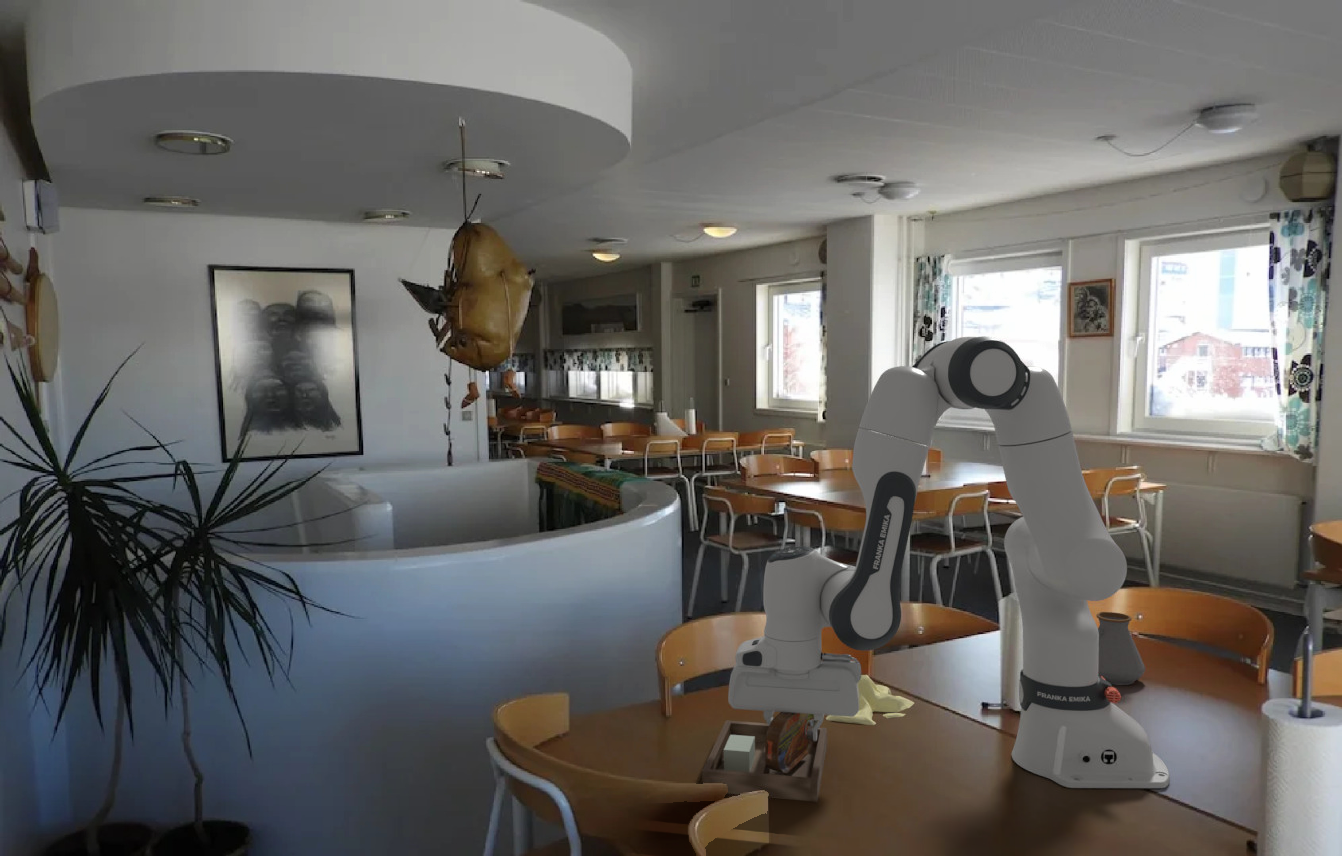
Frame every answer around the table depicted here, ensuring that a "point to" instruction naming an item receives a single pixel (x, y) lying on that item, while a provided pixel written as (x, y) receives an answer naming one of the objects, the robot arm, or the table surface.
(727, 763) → the sage block
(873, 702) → the cloth
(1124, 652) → the coffee pot
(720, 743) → the caddy
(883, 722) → the table surface
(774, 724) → the tin
